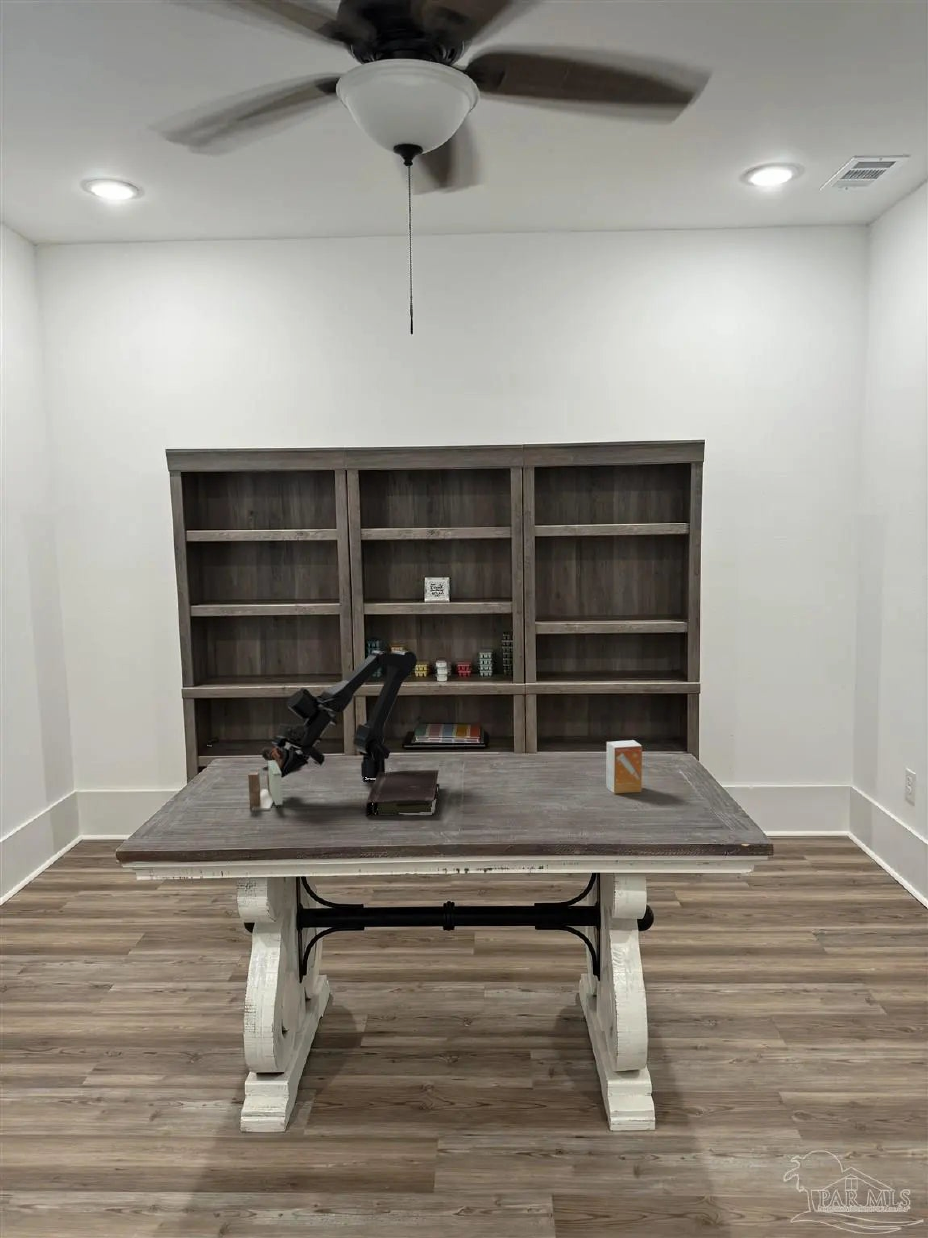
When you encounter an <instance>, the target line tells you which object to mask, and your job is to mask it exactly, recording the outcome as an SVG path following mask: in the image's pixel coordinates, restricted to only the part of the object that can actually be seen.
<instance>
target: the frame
mask: <svg viewBox="0 0 928 1238" xmlns="http://www.w3.org/2000/svg"><path fill="white" fill-rule="evenodd" d="M247 776H248V794H249V795H248V796H249V799H248V800H249V809H251V812H258V811H259V812H260V811H270V810H271V808H272V807H273V804H274V800H273V798H272V795H271V793H270V788H269V773H267V774H266V780H267V781H266V782H267V789H265V788H264V789H261V784H260V783H261V782H260V781H261V780H260V771H249V773H248V775H247Z"/></svg>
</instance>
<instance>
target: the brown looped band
mask: <svg viewBox="0 0 928 1238" xmlns="http://www.w3.org/2000/svg"><path fill="white" fill-rule="evenodd" d="M274 746H275V747H274V748H273V747H270V746H266V747H263V748H262V749H261V751H260V755H261V757H262V759H264V760H265V761H267V762H268V761H272V760H275V761H277V765H278V767H279V769H280V766H281V763H282V760H283V751H281V750H280V749H279V748H278V747H277V746H276V745H274Z"/></svg>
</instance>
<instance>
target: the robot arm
mask: <svg viewBox="0 0 928 1238" xmlns="http://www.w3.org/2000/svg"><path fill="white" fill-rule="evenodd" d="M417 663H418V659H417V656H416V654H415V653H414V652H413V651H410V650H409V651H408V650H404V649H399V648H396V649H393V650H392V651H383V650H378V649H377V650H375V649H374V650H373V651H371V652H370V653H369V655H368V656H367V658H365V659H364V660H363V661H362V662H360V664H359V665H358V666H357V667H356V668H355V669H353V670H352V671H351V672H350V673H349V674H348V675H347V676H346V677H345V678H344V679H343V680H341V681H340V682H337V683H335V684H332V685H331V686H329V687H328V688H326V689H324V690H323V692H322V693H321V694H319V695H315V696H314V695H312V694H311V693H310V691H309V690H308V689H307V688H306V687H301V688H300V690H297V691H296V692H294V693H293V694H291V695H290V696H289V698H288V699H287V701H286V706H287V708H288V709H290V710H291V711H292V712H293V713H294V714H295V715H297V716H298V717H299V718H300V719H301V720H305V719H306V720H305V722H304V723H303V724H293V726H289V725H287V724H284V723H280V724H279V726H278V730H277V732H276V736H275V737H273V739H272V741H271V743H272V744H273V745H274V746H277V747H278V748H279V749H280V750H281V751H283V760H282V763H281V766H280V771H281V773H282V776H281V779H282V778H284V777H286V776H288V775H289V774H291V773H293V772H294V771H297V770H299V769H300V768H302V767H303V766H305V765H309V759H310V758H311V759H312V760H313V762H314V764H315V765H317V766H319V767H322V765H323V764H324V763H325V760H326V757H325V755H324V754H323V753H322V752H321V751H320V750H319V749H317V748H316V747H315V745H316V744H317V742H319V743H322V741H323V738H322V735H323V734H324V732H325V731H326V729H327V728H328V726H329V725H334V726H338V725H339V723H338V718H337V715H336V714H331V713H330V712H334V713H341V712H343V711H345V710H346V709H347V707H348V706H349V704H350V703H351V702H352V701H353V698H354V695H355V693H356V691H358V690H359V689H360V688H361V687H362V686H363V685H364V684H365V683H366V682H367V681H368V680H369V679H370V678H372V676H373V675H375V673H377V672H378V671H379V670H380V669H381V668H382V667H383V666H386V678H385V681H384V683H383V685H382V688H381V690H380V692H379V693H378V697H377V699H376V702H375V704H374V706H373V708H372V711H371V713H370V715H369V718H368V720H367V722H365V723H364V724H361V723H359V724H358V725H357V728H356V731H355V733H354V734H353V735H352V737H353V738H354V739H353V742H352V743H353V745H354V748H355V750H357V751H358V754H359V756H362V760H361V763H360V769H361V770H360V771H361V778H362V781H363V780H365V779H366V778H365V777H367V778H376V777H377V775H378V773H379V772H386V760H387V759H389V758H390V754H391V751H390V750H389V749H388V748H387V747H386V746H385V745H384V744H383V743H384V740H385V732H384V731H385V725H386V723H387V720H388V717H389V715H390V713H391V711H392V709H393V706H394V704H395V702H396V699H397V697H398V694H399V691H400V689H401V687H402V684H403V683H404V681H405V680H407V679H408V678H409V677H410V676H411V675H412V673H413V672H414V670H415V668H416V666H417ZM320 707H321V708H323V709H321V708H320ZM329 711H330V712H329ZM363 777H364V778H363Z"/></svg>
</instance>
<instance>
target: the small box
mask: <svg viewBox="0 0 928 1238" xmlns="http://www.w3.org/2000/svg"><path fill="white" fill-rule="evenodd" d="M605 763H606V764H605V765H606V768H605V769H606V773H605V774H606V775H605V777H606V781H605V784H606V786H605V787H606V788H607V789H608V790H609V791H610V792H611V793H612V794H614V795H615V794H627V793H641V792H642V776H643V774H642V772H643V767H642V765H643V746H642V745H641V744H640V743H639V742H637V741H636V740H634V739H631V740H618V741H617V740H616V741H606V762H605Z"/></svg>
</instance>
